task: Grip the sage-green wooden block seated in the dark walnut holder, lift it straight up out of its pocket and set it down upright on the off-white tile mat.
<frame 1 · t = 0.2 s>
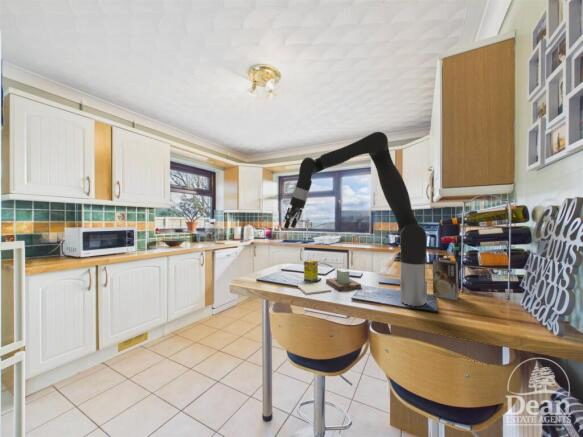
hand: (289, 227, 119), 31 cm above the breakfast bar, tool tilted 20°, fingers open, 8 cm apart
supplement box: (311, 280, 134), on the breakfast bar
sage block: (342, 277, 123), in the walnut holder
walnut holder: (343, 285, 123), on the breakfast bar
coffee box: (445, 296, 105), on the breakfast bar
tile mat: (313, 288, 118), on the breakfast bar
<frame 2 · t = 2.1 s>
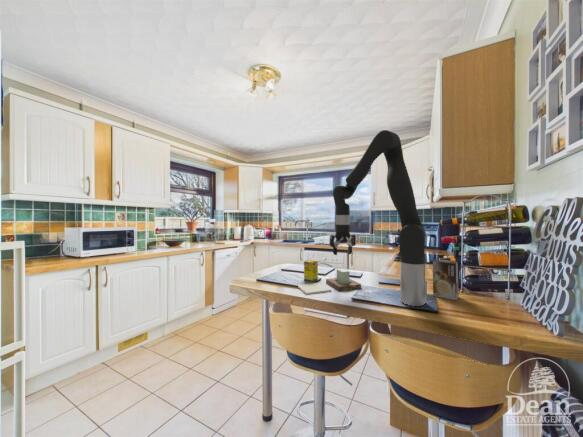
hand: (342, 254, 123), 16 cm above the breakfast bar, tool pointing down, fingers open, 8 cm apart
nothing on the breakfast bar moved.
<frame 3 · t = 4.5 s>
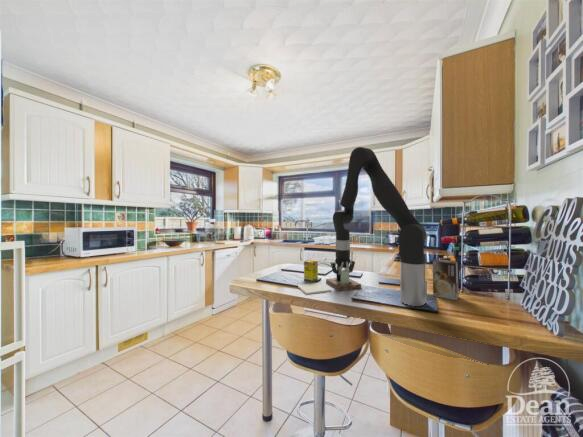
hand: (342, 280, 123), 2 cm above the breakfast bar, tool pointing down, fingers closed on sage block, 4 cm apart
sage block: (342, 277, 123), in the walnut holder, touching gripper
everything else where it was.
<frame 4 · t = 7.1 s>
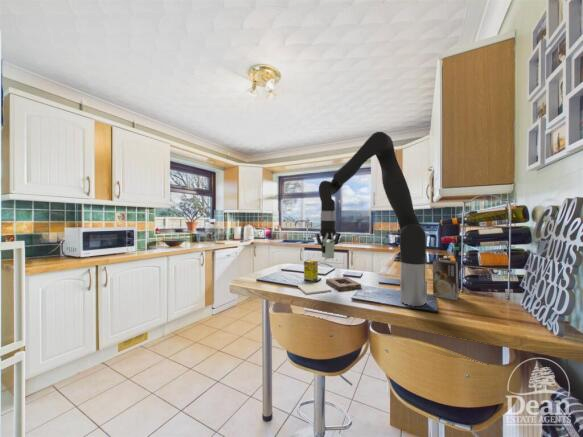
hand: (327, 252, 121), 18 cm above the breakfast bar, tool pointing down, fingers closed on sage block, 4 cm apart
sage block: (327, 249, 121), point 19 cm above the breakfast bar, touching gripper
everything else where it was.
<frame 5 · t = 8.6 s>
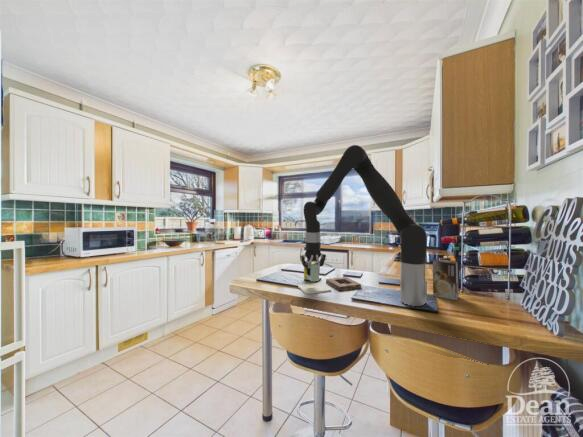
hand: (313, 274, 118), 7 cm above the breakfast bar, tool pointing down, fingers closed on sage block, 4 cm apart
sage block: (312, 271, 118), point 9 cm above the breakfast bar, touching gripper
everything else where it was.
when the fingers open (4 cm above the breakfast bar, at t = 9.8 s): sage block drops 1 cm, resting on tile mat.
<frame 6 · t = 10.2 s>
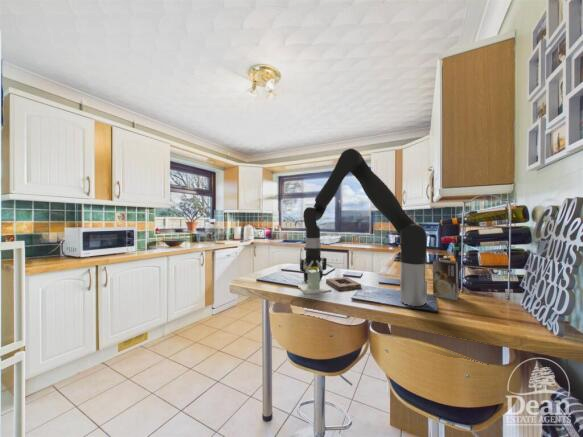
hand: (313, 278, 118), 5 cm above the breakfast bar, tool pointing down, fingers open, 7 cm apart
sage block: (313, 279, 118), on the tile mat, point 5 cm above the breakfast bar
everything else where it was.
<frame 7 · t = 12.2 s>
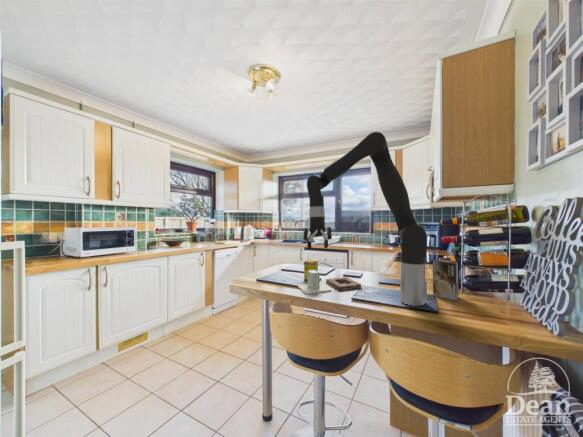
hand: (317, 248, 115), 21 cm above the breakfast bar, tool pointing down, fingers open, 8 cm apart
nothing on the breakfast bar moved.
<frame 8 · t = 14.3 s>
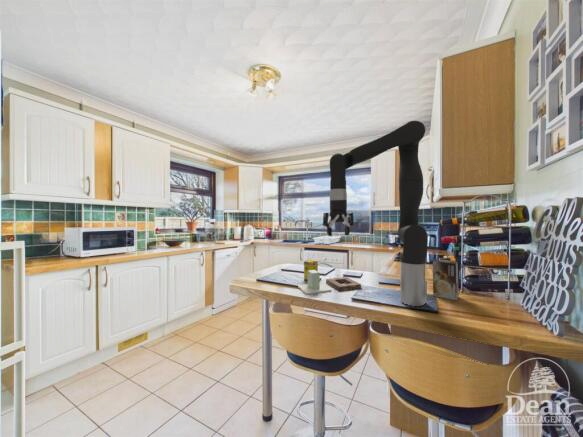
hand: (338, 235, 105), 28 cm above the breakfast bar, tool pointing down, fingers open, 8 cm apart
nothing on the breakfast bar moved.
at the end: sage block inside the target area on the tile mat (0.1 cm from its centre), point 4.8 cm above the tile mat's base; sage block tilted 0°; the gripper is holding nothing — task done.
